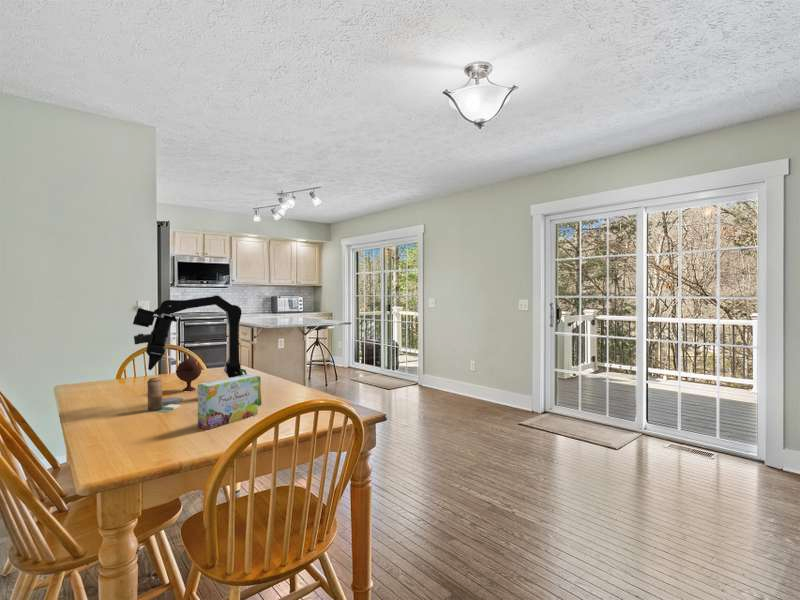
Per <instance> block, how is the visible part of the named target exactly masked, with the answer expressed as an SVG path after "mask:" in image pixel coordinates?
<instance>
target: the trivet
mask: <svg viewBox="0 0 800 600" xmlns="http://www.w3.org/2000/svg"><path fill="white" fill-rule="evenodd" d="M184 400H185V399H184V398H183V397H180V396H179V397H176V396H175V397H163V398H162V406H167V405H170V404H174V405H176V404H179V403H181V402H183V401H184Z"/></svg>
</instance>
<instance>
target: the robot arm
mask: <svg viewBox="0 0 800 600" xmlns="http://www.w3.org/2000/svg"><path fill="white" fill-rule="evenodd" d="M207 306H217V307H218V308H219V309H221V310H223V311H224V312H225V316H226V317H225V318H226V322H227V325H228V356H227V357H228V358H227V361H224V362H223V364H224V369H223V371H224V372H225V375H226V376H227V378H231V377H236V376H241V372H240V369H242V368H241V367H242V366H241V363H240V360H239V324H240V321H241V317H242V312H243V311H242V309H241V307H240V306H239V305H236V304H231V303H230V302H228V301H227V300H225V299H224V298H222V297H221V296H220V295H218V294H217V295H212V296H206V297H198V298H192V299H190V298H189V299H185V300H184V299H180V300H179V299H166V300H163V301H162V302H161V303H160V305H159V307H158V308H156V309H154V310H153V311H152V310H148V309H144V308H143V307H141V308H140V307H138V308H137V312H136V314H135V316H134V317H133V318H134V319H133V322H132V325H135V326H140V327H145V328H149V326H153V329H152V330H151V331H150V333H147V334H145V333H143V332H142V333H137V335H133V340H134V341H133V342H134V345H140V344H146V346H147V347H146V350H145V352H146V354H147V355H148V367H147V370H149V371H152V370H153V368H155V366H156V365H157V364H158V362H159V361H161V359H162V357H163V356H164V355H165V352H166V343H167V339H168V337H169V332H170V329H171V325H172V322H175V323H177V322H178V320H177V318H176V316H175V315H173V314H175V313H178V312H181V311H184V310H187V309H194V308H196V309H197V308H200V307H201V308H202V307H207ZM163 314H164V315H163ZM161 315H163V316H161ZM171 315H172V316H171ZM155 319H156V320H155ZM153 324H154V325H153Z"/></svg>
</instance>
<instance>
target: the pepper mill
mask: <svg viewBox="0 0 800 600" xmlns="http://www.w3.org/2000/svg"><path fill="white" fill-rule="evenodd" d="M162 384H163V381H162V379H161V377H151V378H148V380H147V383H146V385H147V410H148V411H147V412H149V411H159V410H162V406H163V405H162V399H163V385H162Z"/></svg>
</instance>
